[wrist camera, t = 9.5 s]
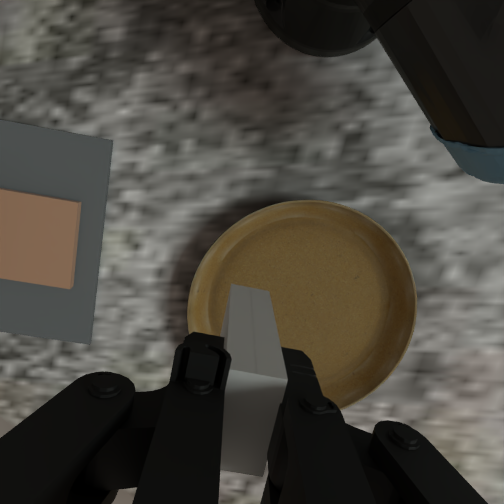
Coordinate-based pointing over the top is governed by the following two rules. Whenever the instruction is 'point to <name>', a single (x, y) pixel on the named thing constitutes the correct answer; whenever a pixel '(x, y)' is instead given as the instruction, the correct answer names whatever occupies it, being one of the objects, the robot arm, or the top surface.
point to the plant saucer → (317, 290)
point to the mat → (90, 227)
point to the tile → (38, 238)
